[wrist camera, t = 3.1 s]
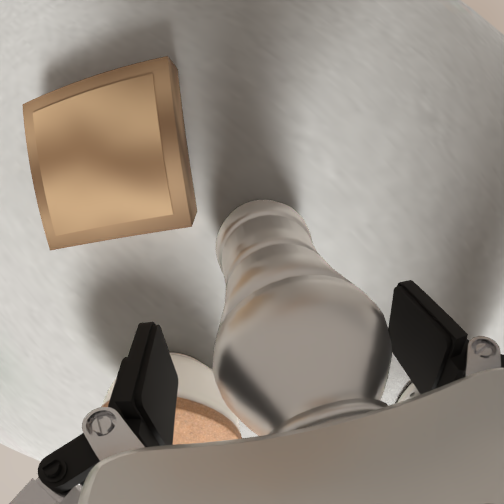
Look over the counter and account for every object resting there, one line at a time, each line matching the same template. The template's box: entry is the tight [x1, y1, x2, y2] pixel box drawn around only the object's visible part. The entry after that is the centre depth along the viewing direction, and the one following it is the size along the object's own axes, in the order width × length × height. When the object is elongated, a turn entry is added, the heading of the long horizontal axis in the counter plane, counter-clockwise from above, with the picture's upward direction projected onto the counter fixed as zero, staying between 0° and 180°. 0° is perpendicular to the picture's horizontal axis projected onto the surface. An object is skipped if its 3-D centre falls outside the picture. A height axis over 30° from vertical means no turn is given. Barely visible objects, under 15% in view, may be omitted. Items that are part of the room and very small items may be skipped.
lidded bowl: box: [102, 352, 242, 445], centre depth 24 cm, size 13×13×11 cm
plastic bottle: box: [213, 200, 392, 436], centre depth 15 cm, size 6×7×20 cm
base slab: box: [23, 56, 197, 250], centre depth 19 cm, size 11×11×4 cm
